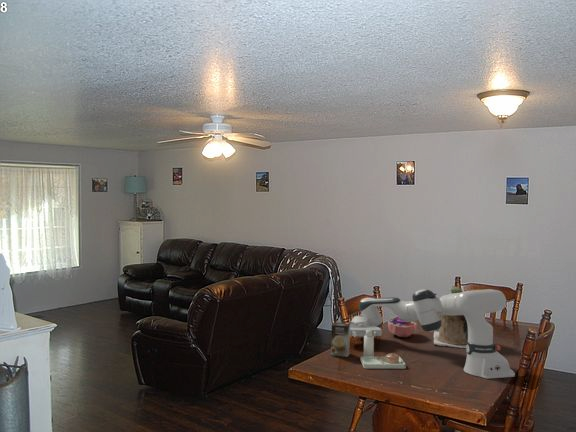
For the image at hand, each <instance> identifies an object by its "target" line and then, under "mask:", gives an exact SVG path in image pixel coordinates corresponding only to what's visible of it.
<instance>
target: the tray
mask: <svg viewBox="0 0 576 432" xmlns="http://www.w3.org/2000/svg"><path fill="white" fill-rule="evenodd" d="M359 358H360V362H361V365H362V366H363V368H364V369H394V370H395V369H406V368H407V367H406V366H407V364H406V363H405V362H404V360H403V359H402V358H401V356H399V363H398V364H390V363H387V362H386V356H374V357H365V356H364V355H362V356H360V357H359Z"/></svg>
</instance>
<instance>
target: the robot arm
mask: <svg viewBox="0 0 576 432" xmlns="http://www.w3.org/2000/svg"><path fill="white" fill-rule="evenodd" d="M506 305H507V298H506V296H505V294H504V293H503V291H501V290H497V289H493V288H492V289H491V288H487V289H475V290H467V291H462V292H460V293H453V294H452V293H449V294H444V295H443V296H439V297H437V293H434V291H432V290H429V289H427V288H426V289H424V288H421V289H418V290H417V291H415V292H414V293H413V294H412V300H409V301H405V300H402V299H400V298H399V297H364V298H361V299H360V300H359V302H358V305H357V307H358V310H359V311H360V314H361V315H362V316H361V315H356V316H354V317H352V319H351V321H350V322H345V323H346V324H350V337H359V338H364V336H365V335H366V330H372V336H374V338H375V337H381V336H383V330H382V328H381V327H382V325H383V322H384V320H383V318H382V315H381V313H380V311H379V309H378V308H379V307H387V308H388V309H390V310H391V311H392V312H393V313H394V314H395V315H396V317H397V318H399V319H401V320H402V321H404V322H417V321H419V323H420V327H421V329H422V330H423V331H424V332H429V333H430V332H431V333H434V332H435V331H437V330H438V329H439V328H440V327H441V320H440V313H441V314H444V315H450V316H456V315H464V316H465V318H466V321H467V325H468V341H467V346H466V348H465V349H466V359H465V364H464V367H463V371H464V372H465V373H467V374H469V375H471V376H475V377H479V378H482V379H488V380H489V379H499V378H513V377H514V378H515V377H516V373H515V372H514V370H512V369H511V368H510V364H509V361H508V359H507V358H506V357H504V356H503V355H502V354H501V353H500V352H499V351H501V346H500V345H499V344H496V343H495V342H493V341H494V340H493V339H494V327H493V325H492V324H491V323H490V322H488V321H487V320H486V316H485V314H491V313H492V314H494V313H497V312H500V311H502V310H504V309H505V308H506Z"/></svg>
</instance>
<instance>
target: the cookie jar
mask: <svg viewBox="0 0 576 432" xmlns="http://www.w3.org/2000/svg"><path fill="white" fill-rule="evenodd" d="M450 292H451V294H453V293H460V292H463V290H462V288H460V287H458V286H456V285H452V288H451V289H450ZM439 316H440V320H441V327H440V328H439V329H438V331H437V330H436V331H433V344H434V346H440V347H449V348H456V349H466V346H467V341H468V325H467V321H466V318H465V316H464V315H456V316H450V315H444V314H441V313H440V312H439Z"/></svg>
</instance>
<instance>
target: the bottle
mask: <svg viewBox="0 0 576 432" xmlns="http://www.w3.org/2000/svg"><path fill="white" fill-rule="evenodd" d="M374 338H375V337H374V336H372V330H366V335H365V336H364V337H363V356H365V357H375V354H374V352H375V349H374V348H375V347H374V346H375V339H374Z"/></svg>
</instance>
